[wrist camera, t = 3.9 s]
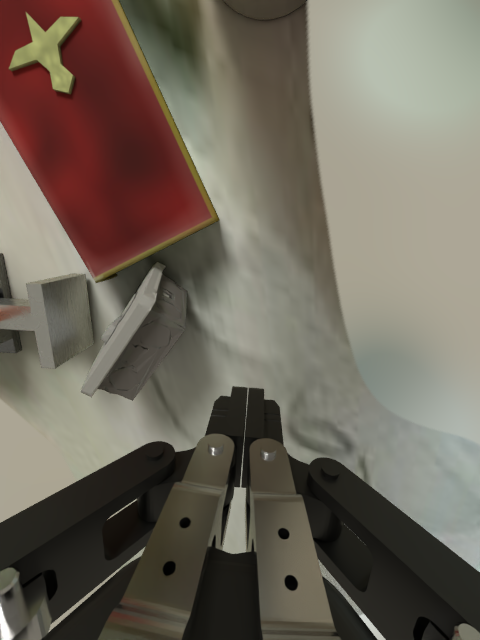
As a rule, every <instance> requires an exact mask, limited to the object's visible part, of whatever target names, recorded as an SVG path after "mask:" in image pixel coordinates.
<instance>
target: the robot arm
mask: <svg viewBox="0 0 480 640" xmlns="http://www.w3.org/2000/svg"><path fill="white" fill-rule="evenodd" d="M223 1H224V2H225V3H226V4H228V5H229V6H230V7H231V8H232V9H233V10H235V11H236V12H238V13H240V14H242V15H244V16H246V17H250V18H254V19H258V20H264V19H275V18H278V17H282V16H285V15H287V14H289V13H291V12H292V11H294V10H296V9H298V8H299V7H300V6H301V5H302V4H303V3H305V2H306V1H307V0H223ZM247 390H248V388H246V387H234V386H233V387H232V393H231V397H228V396H220V397H219V398H218V399H217V400H216V401H215V402H214V406H213V410H212V413H211V417H210V420H209V424H208V427H207V431H206V434H205V436H204V437H203V438H201V439H200V441H199V442H198V444H197V446H196V447H195V448H193V449H190V450H186V451H181V452H175V450H174V448H173V446H172V445H170V444H169V443H166V442H161V441H157V442H151V443H148V444H146V445H144V446H142V447H140V448H138V449H136V450H134V451H133V452H131V453H129V454H127V455H125V456H123V457H121V458H120V459H118V460H116V461H114V462H112V463H110V464H108V465H107V466H105V467H103V468H101V469H99V470H97V471H96V472H94V473H92V474H90V475H88V476H86V477H84V478H83V479H81V480H79V481H77V482H75V483H73V484H71V485H70V486H68V487H66V488H64V489H62V490H60V491H59V492H57V493H55V494H53V495H51V496H49V497H48V498H46V499H44V500H42V501H40V502H38V503H36V504H34V505H33V506H31V507H29V508H27V509H25V510H23V511H21V512H20V513H18V514H16V515H14V516H12V517H10V518H9V519H7V520H5V521H3V522H1V523H0V640H377V638H376V637H375V636H374V635H373V633H372V632H371V631H370V630H369V628H368V627H367V626H366V624H365V623H364V622H363V620H362V619H361V618H360V617H359V615H358V614H357V613H356V612H355V610H354V609H353V608H352V606H351V605H350V604H349V603H348V601H347V600H346V599H345V598H344V596H343V595H342V594H341V593H340V592H339V591H338V590H337V589H336V588H335V587H334V586H333V585H332V584H331V583H330V582H329V581H328V580H327V579H325V578H324V577H322V574H321V570H320V566H319V562H318V559H319V560H320V562H321V563H322V564H323V565H324V566H325V568H326V569H327V570H328V571H329V572H330V574H331V575H332V576H333V577H334V578H335V580H336V581H337V582H338V583H339V584H340V585H341V587H342V588H343V589H344V590H345V591H346V593H347V594H348V595H349V596H350V597H351V599H352V600H353V601H354V602H355V603H356V605H357V606H358V607H359V608H360V609H361V610H362V612H363V613H364V614H365V615H366V616H367V618H368V619H369V620H370V621H371V622H372V623H373V625H374V626H375V627H376V628H377V630H378V631H379V632H380V633H381V634H382V636H383V637H384V638H385V639H386V640H480V572H478V571H477V570H476V569H474V568H473V567H472V566H471V565H469V564H468V563H467V562H466V561H464V560H463V559H462V558H461V557H459V556H458V555H457V554H455V553H454V552H453V551H452V550H450V549H449V548H448V547H447V546H445V545H444V544H443V543H441V542H440V541H439V540H438V539H436V538H435V537H434V536H433V535H431V534H430V533H429V532H428V531H426V530H425V529H424V528H422V527H421V526H420V525H419V524H417V523H416V522H415V521H414V520H412V519H411V518H410V517H408V516H407V515H406V514H405V513H403V512H402V511H401V510H400V509H398V508H397V507H396V506H395V505H393V504H392V503H391V502H389V501H388V500H387V499H386V498H384V497H383V496H382V495H381V494H379V493H378V492H377V491H375V490H374V489H373V488H372V487H370V486H369V485H368V484H367V483H365V482H364V481H363V480H362V479H360V478H359V477H358V476H356V475H355V474H354V473H353V472H351V471H350V470H349V469H348V468H346V467H345V466H344V465H342V464H341V463H340V462H338V461H336V460H333V459H330V458H317V459H315V460H313V461H312V462H311V463H310V465H308V464H306V463H303V462H300V461H298V460H296V459H294V458H293V457H291V456H290V455H289V454H288V453H287V450H286V448H285V447H284V445H283V436H282V426H281V416H280V407H279V406H278V404H277V403H276V402H275V401H274V400H264V389H259V388H249V393H248V405H247ZM246 405H247V417H246ZM245 419H246V429H245ZM244 432H245V442H244ZM243 444H244V457H243V471H242V486H241V487H243V488H246V503H245V527H246V552H245V553H239V554H230V553H227V552H225V551H222V550H223V545H224V540H225V535H226V529H227V524H228V519H229V514H230V509H231V500H232V498H233V495H234V487H240V478H241V467H242V455H243ZM135 499H137V500H136V501H135V502H133V503H132V504H131V505H129V506H128V507H126V508H125V509H123V510H122V511H120V512H119V513H117V514H116V515H114V516H113V517H111V518H110V519H108V518H109V517H110V516H112V515H113V514H114V513H116V512H117V511H119V510H120V509H122V508H123V507H125V506H126V505H128V504H129V503H131V502H132V501H134V500H135ZM107 519H108V520H107ZM145 546H146V547H145ZM144 547H145V550H144V552H143V554H142V556H141V557H139V558H137V559H135V560H134V561H132V562H130V563H129V564H128V565H126V566H125V567H123V568H122V569H121V570H120V571H119V572H117V573H116V574H115V575H114V576H113V577H112V578H110V579H109V580H108V581H107V582H106V583H105V584H104V585H102V586H101V587H100V588H99V589H98V590H97V591H96V592H94V593H93V594H92V595H91V596H90V597H89V598H88V599H87V600H85V601H84V602H83V603H82V604H81V605H80V606H78V607H77V608H76V609H75V610H74V611H73V612H72V613H70V615H68V616H67V617H66V618H65V619H64V620H62V621H61V622H60V623H59V624H58V625H57V626H56V627H54V628H53V629H52V630H51V631H50V632H49V633H48V631H49V628H50V625H51V624H52V623H53V622H54V621H55V620H56V619H58V618H59V617H60V616H61V615H62V614H63V613H65V612H66V611H67V610H69V609H70V608H71V607H72V606H74V605H75V604H76V603H77V602H78V601H79V600H81V599H82V598H83V597H84V596H86V595H87V594H88V593H89V592H91V591H92V590H93V589H94V588H95V587H97V586H98V585H99V584H100V583H102V582H103V581H104V580H105V579H106V578H107V577H109V576H110V575H111V574H112V573H114V572H115V571H116V570H117V569H119V568H120V567H121V566H122V565H123V564H125V563H126V562H127V561H128V560H130V559H131V558H132V557H133V556H134V555H136V554H137V553H138V552H139V551H140V550H142V549H143V548H144Z"/></svg>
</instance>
